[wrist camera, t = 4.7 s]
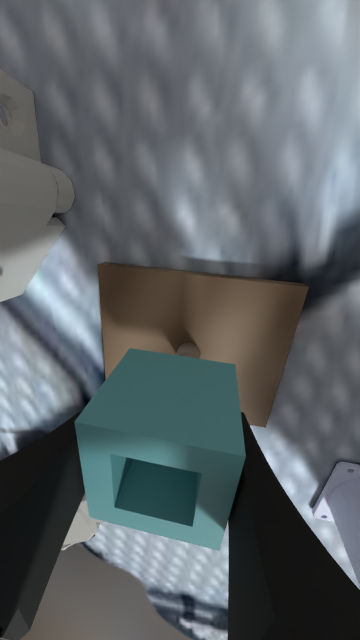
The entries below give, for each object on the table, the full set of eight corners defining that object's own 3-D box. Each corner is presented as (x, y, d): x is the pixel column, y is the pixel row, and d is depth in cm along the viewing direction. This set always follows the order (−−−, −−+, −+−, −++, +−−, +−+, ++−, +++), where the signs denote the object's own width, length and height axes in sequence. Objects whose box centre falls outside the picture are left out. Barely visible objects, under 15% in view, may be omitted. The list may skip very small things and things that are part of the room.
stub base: (303, 283, 15) (339, 307, 10) (263, 418, 19) (276, 474, 15) (104, 262, 16) (61, 274, 12) (111, 390, 21) (82, 434, 17)
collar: (235, 364, 11) (245, 456, 7) (219, 441, 13) (219, 550, 9) (129, 347, 12) (74, 422, 7) (131, 424, 14) (89, 517, 10)
